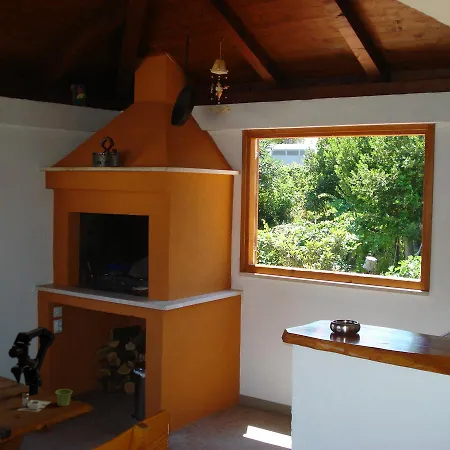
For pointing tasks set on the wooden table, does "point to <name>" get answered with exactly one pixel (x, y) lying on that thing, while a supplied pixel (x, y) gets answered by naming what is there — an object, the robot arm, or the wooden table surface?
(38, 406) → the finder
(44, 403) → the board
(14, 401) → the wooden table surface
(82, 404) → the wooden table surface
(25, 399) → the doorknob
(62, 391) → the plant pot
